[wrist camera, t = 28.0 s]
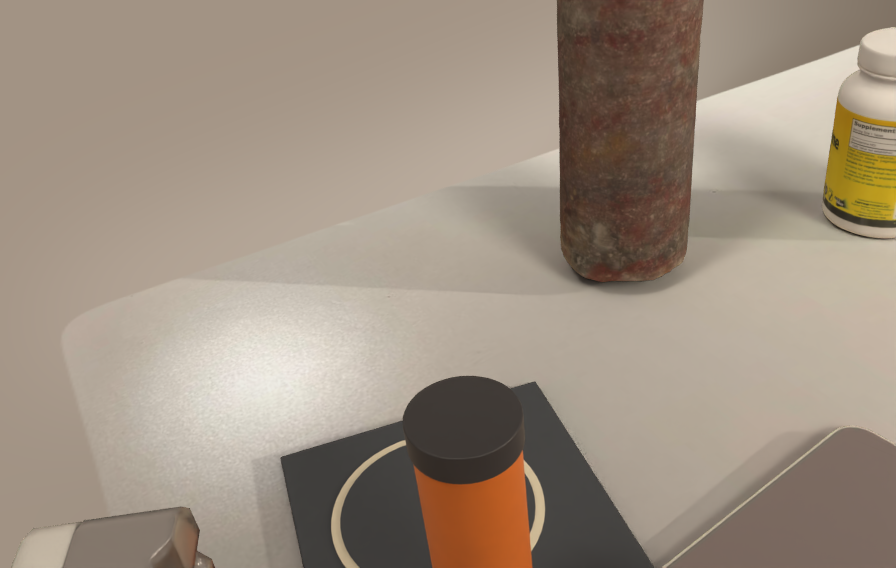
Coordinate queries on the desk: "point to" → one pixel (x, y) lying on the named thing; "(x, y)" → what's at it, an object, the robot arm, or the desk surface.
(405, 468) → the pad
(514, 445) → the marker
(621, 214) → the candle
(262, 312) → the desk surface
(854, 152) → the pill bottle
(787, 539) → the smartphone
